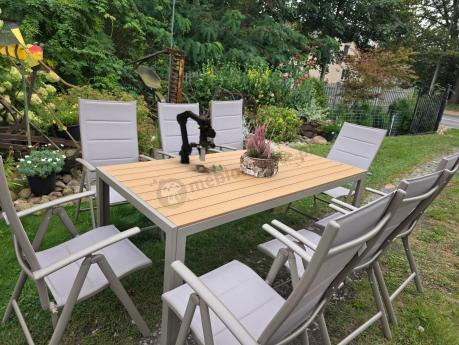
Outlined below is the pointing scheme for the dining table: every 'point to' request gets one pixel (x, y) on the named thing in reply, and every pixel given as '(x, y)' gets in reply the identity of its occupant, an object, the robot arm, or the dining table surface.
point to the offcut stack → (203, 171)
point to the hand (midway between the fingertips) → (202, 156)
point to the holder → (217, 167)
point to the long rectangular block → (202, 154)
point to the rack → (200, 166)
